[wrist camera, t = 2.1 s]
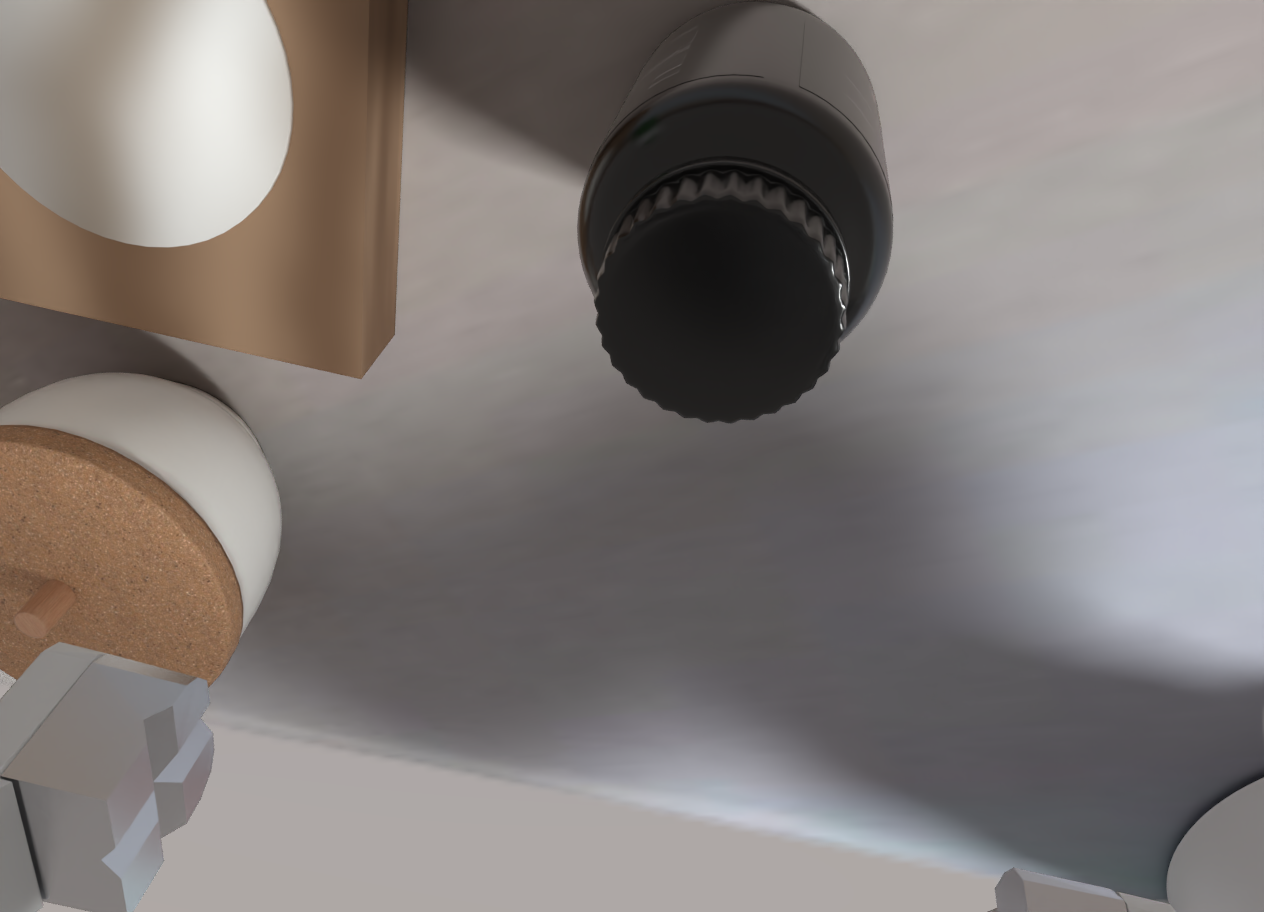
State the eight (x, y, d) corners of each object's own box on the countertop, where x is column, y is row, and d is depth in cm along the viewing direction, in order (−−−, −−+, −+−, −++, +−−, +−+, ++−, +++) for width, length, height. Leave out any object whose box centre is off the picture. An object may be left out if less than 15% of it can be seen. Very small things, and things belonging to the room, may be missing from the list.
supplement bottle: (669, 265, 33) (594, 491, 23) (602, 35, 30) (479, 184, 20) (902, 214, 31) (927, 439, 21) (857, -38, 28) (862, 88, 18)
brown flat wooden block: (417, -238, 27) (369, -234, 24) (394, 334, 36) (357, 384, 33) (-122, -344, 28) (-229, -352, 25) (-12, 244, 37) (-82, 285, 34)
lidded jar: (146, 587, 44) (-3, 768, 37) (-12, 357, 39) (-223, 510, 31) (376, 545, 41) (267, 734, 33) (238, 289, 36) (72, 441, 28)
